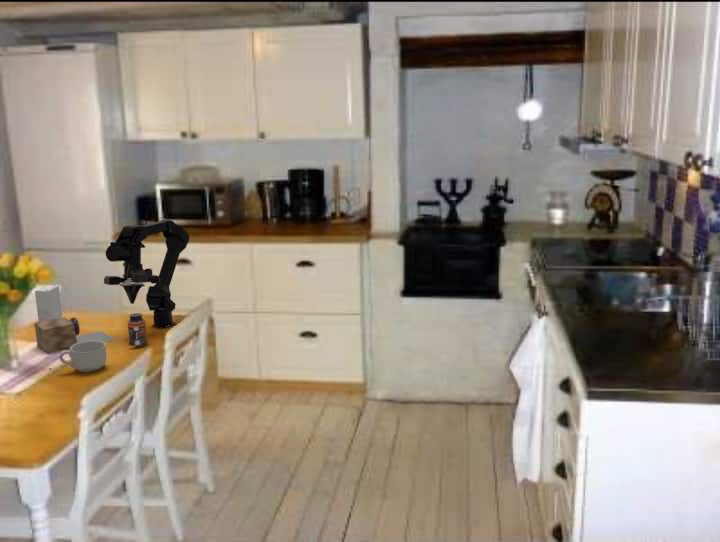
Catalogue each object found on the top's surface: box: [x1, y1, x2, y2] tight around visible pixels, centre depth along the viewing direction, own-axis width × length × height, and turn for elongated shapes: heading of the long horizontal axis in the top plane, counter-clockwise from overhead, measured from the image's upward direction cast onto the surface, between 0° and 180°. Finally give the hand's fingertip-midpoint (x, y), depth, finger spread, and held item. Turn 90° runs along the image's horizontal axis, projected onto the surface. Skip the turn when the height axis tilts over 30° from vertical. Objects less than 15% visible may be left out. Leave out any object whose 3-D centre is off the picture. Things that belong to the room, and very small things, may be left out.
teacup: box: [58, 340, 107, 373], centre depth 215 cm, size 14×11×8 cm
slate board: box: [35, 330, 117, 356], centre depth 241 cm, size 23×15×1 cm, turn 131°
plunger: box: [69, 317, 80, 336], centre depth 237 cm, size 11×6×6 cm, turn 131°
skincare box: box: [34, 284, 64, 322], centre depth 267 cm, size 8×6×15 cm
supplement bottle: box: [127, 312, 148, 349], centre depth 237 cm, size 6×6×11 cm
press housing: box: [34, 316, 77, 355], centre depth 236 cm, size 10×11×8 cm
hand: (132, 303), depth 245 cm, fingers closed
